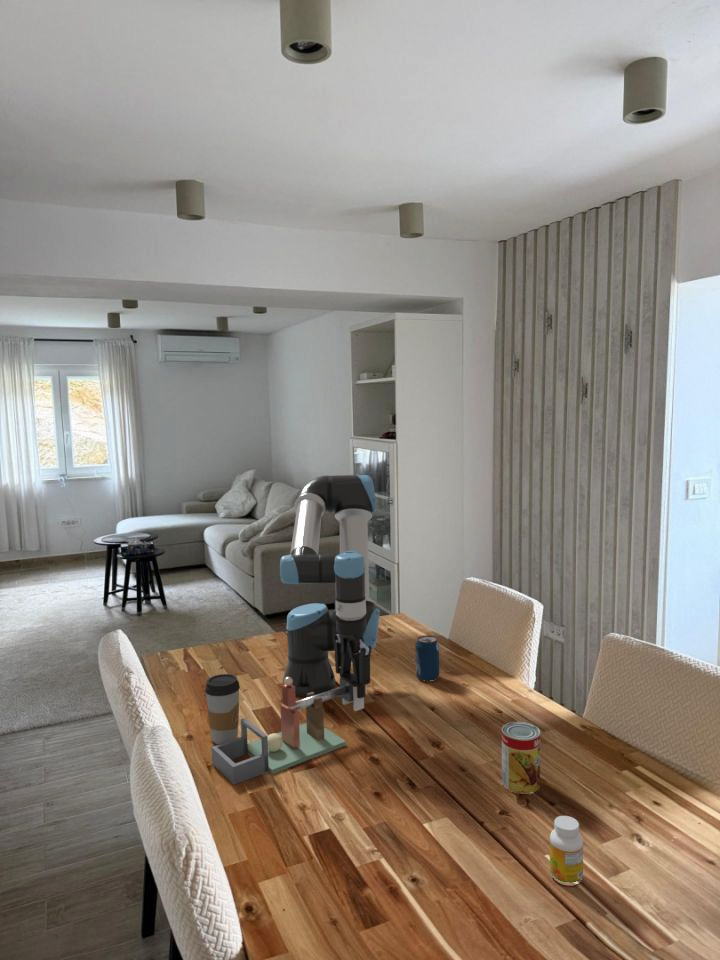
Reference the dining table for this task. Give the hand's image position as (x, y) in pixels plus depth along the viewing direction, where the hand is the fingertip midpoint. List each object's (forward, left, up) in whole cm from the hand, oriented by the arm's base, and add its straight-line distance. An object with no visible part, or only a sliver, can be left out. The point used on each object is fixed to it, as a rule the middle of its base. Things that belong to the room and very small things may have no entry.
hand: (353, 705), depth 169 cm
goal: (+31, 0, -5) cm, 32 cm away
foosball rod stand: (+9, 0, -4) cm, 9 cm away
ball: (+23, 0, -2) cm, 23 cm away
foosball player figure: (+11, 0, -5) cm, 13 cm away
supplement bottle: (+4, +67, -5) cm, 67 cm away
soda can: (-35, -10, -5) cm, 36 cm away
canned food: (-12, +44, -5) cm, 46 cm away
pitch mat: (+17, 0, -5) cm, 18 cm away
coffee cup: (+29, -14, -5) cm, 33 cm away
